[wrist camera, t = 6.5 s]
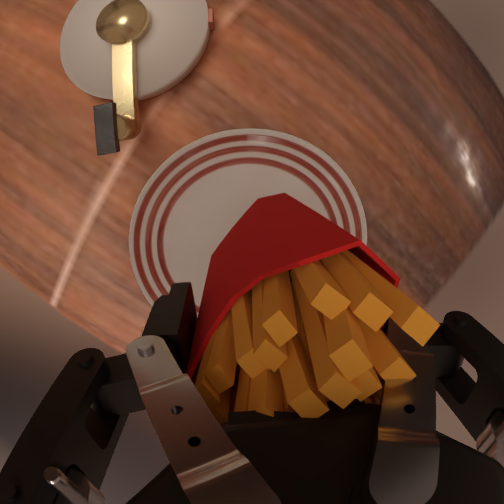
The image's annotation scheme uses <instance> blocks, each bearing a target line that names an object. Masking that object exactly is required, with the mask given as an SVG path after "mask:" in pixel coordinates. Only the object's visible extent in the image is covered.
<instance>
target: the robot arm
mask: <svg viewBox="0 0 504 504" xmlns="http://www.w3.org/2000/svg"><path fill="white" fill-rule="evenodd" d="M196 322H197V312H196V306H195V301H194V295H193V290H192V285H191V282H180V283H173V284H172V286H171V289H170V292H169V295H161V296H160V297H159V298H158V299H157V300H156V301H155V302H154V304H153V306H152V309H151V312H150V314H149V318H148V320H147V323H146V325H145V328H144V331H143V334H142V336H141V337H139V338H137V339H135V340H133V341H132V342H131V343H130V344H129V345H128V346H127V349H126V353H125V354H122V355H118V356H113V357H109V358H105V356H104V355H103V352H101V351H100V350H99V349H95V348H87V349H83V350H80V351H78V352H77V353H75V354H74V355H73V356H72V357H71V358H70V359H69V361H68V363H67V364H66V365H65V367H64V368H63V370H62V371H61V373H60V374H59V376H58V377H57V379H56V380H55V382H54V383H53V385H52V386H51V388H50V389H49V391H48V393H47V394H46V396H45V397H44V399H43V400H42V402H41V403H40V405H39V406H38V408H37V410H36V411H35V413H34V414H33V416H32V418H31V419H30V421H29V423H28V424H27V426H26V428H25V429H24V431H23V433H22V434H21V436H20V438H19V439H18V441H17V443H16V445H15V447H14V448H13V450H12V452H11V454H10V455H9V457H8V459H7V461H6V463H5V465H4V466H3V468H2V470H1V472H0V504H106V499H105V497H104V495H103V493H102V492H101V491H100V487H101V484H102V482H103V479H104V476H105V474H106V471H107V468H108V466H109V463H110V460H111V458H112V455H113V453H114V450H115V448H116V445H117V442H118V440H119V437H120V435H121V432H122V430H123V427H124V425H125V422H126V420H127V417H128V415H129V413H132V412H136V411H141V410H145V409H146V410H147V413H148V415H149V418H150V420H151V423H152V425H153V427H154V429H155V432H156V434H157V436H158V438H159V441H160V443H161V445H162V447H163V449H164V451H165V453H166V455H167V458H168V460H169V462H170V463H169V464H168V465H167V466H166V467H165V468H164V469H163V470H162V471H161V472H160V473H159V474H158V475H157V476H156V477H155V478H154V479H153V480H152V481H150V482H149V483H148V484H147V485H146V486H145V487H144V488H143V489H142V490H140V491H139V492H138V493H137V494H136V495H135V496H134V497H133V498H132V499H131V500H129V501H128V502H127V503H126V504H504V344H503V343H501V341H499V340H498V339H497V338H496V337H495V336H494V335H493V334H492V333H491V332H489V331H488V330H487V329H486V328H485V327H484V326H482V325H481V324H480V323H479V322H478V321H477V320H475V319H474V318H473V317H472V316H470V315H469V314H467V313H464V312H460V311H452V312H449V313H447V314H446V315H445V317H444V320H443V323H439V324H440V326H439V327H438V329H437V330H436V331H435V332H434V334H433V335H432V336H431V337H430V339H429V340H428V341H427V342H426V343H425V345H424V346H421V345H420V344H419V343H418V342H417V341H416V340H414V339H413V338H412V337H411V336H410V335H409V334H407V333H406V332H405V331H404V330H403V329H401V328H400V327H399V326H398V325H397V324H396V323H395V322H394V321H393V320H392V319H391V318H390V317H389V318H388V319H387V320H386V322H385V324H384V327H383V328H382V329H381V331H382V332H383V333H384V334H385V336H386V337H387V338H388V339H389V341H390V342H391V343H392V344H393V346H394V347H395V348H396V349H397V351H398V352H399V353H400V355H401V356H402V357H403V358H404V360H405V361H406V362H407V364H408V365H409V366H410V367H411V369H412V370H413V371H414V373H415V374H416V375H417V376H416V377H414V378H413V379H412V380H411V381H410V382H408V381H407V380H406V378H403V379H386V380H384V379H383V382H382V390H381V396H380V395H379V394H378V393H377V398H378V399H379V400H380V403H379V404H371V403H365V402H364V400H363V401H361V402H360V401H359V400H358V399H354V400H353V401H352V402H351V403H350V404H349V405H347V406H346V407H345V408H344V409H342V408H341V407H340V406H338V405H337V404H336V403H334V402H333V401H332V400H330V401H328V402H326V403H327V405H328V408H329V411H327V412H326V413H324V414H323V415H321V416H320V417H318V418H307V417H301V416H300V415H299V414H298V413H297V412H281V411H274V417H272V416H269V415H266V414H262V413H259V412H256V410H253V411H241V412H228V422H225V423H222V424H219V423H218V421H217V420H216V418H215V417H214V415H213V414H212V412H211V411H210V409H209V408H208V406H207V405H206V403H205V402H204V400H203V398H202V397H201V395H200V394H199V392H198V391H197V389H196V387H195V386H194V384H193V382H192V381H191V379H190V378H189V376H188V375H187V373H186V372H187V367H188V362H189V357H190V352H191V347H192V342H193V337H194V332H195V327H196ZM464 358H465V359H466V360H467V361H468V362H469V363H470V364H471V365H472V366H473V367H474V368H475V369H476V371H477V375H478V379H477V382H476V383H475V382H474V380H472V378H471V377H470V376H469V375H468V374H467V373H466V372H465V371H464V370H463V369H462V367H461V365H462V363H463V360H464ZM436 391H437V392H438V393H439V394H440V396H441V397H442V398H443V399H444V401H445V402H446V403H447V405H448V406H449V407H450V408H451V410H452V411H453V412H454V413H455V415H456V416H457V417H458V418H459V420H460V421H461V422H462V424H463V425H464V426H465V428H466V429H467V430H468V432H469V433H470V434H471V436H472V437H473V438H474V440H475V441H476V447H477V450H475V449H473V448H471V447H469V446H467V445H464V444H463V443H460V442H458V441H456V440H454V439H452V438H450V437H448V436H446V435H444V434H442V433H440V432H438V431H436ZM89 408H90V409H89ZM88 410H89V411H88ZM87 412H88V413H87ZM86 414H87V415H86Z"/></svg>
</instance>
